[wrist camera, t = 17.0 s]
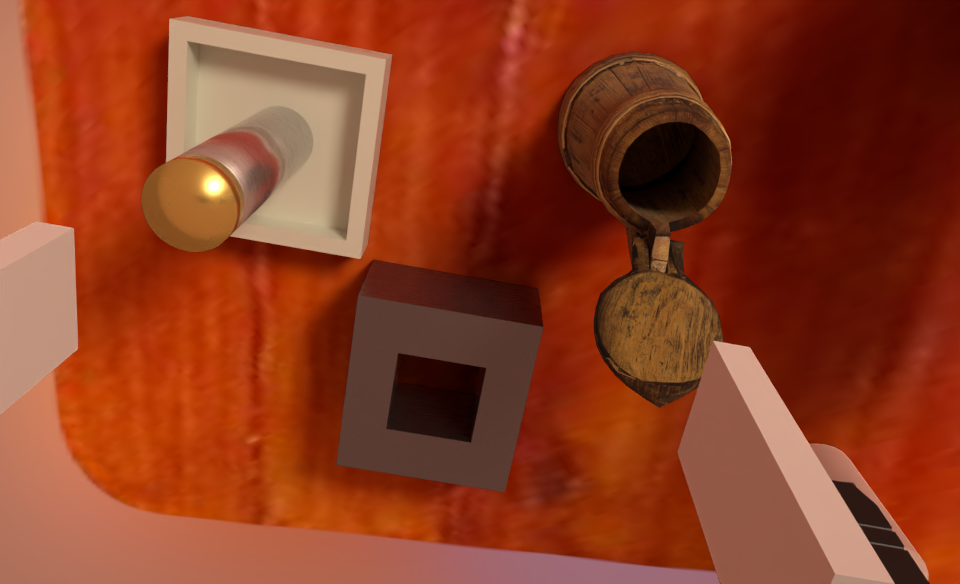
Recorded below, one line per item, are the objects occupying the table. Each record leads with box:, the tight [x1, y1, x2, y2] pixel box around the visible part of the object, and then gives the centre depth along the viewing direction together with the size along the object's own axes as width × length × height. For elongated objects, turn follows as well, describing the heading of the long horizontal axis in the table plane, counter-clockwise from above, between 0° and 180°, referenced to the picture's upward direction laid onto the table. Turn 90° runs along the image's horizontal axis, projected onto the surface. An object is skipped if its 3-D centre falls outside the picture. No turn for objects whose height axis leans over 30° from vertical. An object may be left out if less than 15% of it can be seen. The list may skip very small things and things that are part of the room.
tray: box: [166, 16, 392, 259], centre depth 46 cm, size 12×12×3 cm
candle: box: [809, 443, 928, 580], centre depth 49 cm, size 6×6×15 cm
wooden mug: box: [557, 52, 732, 407], centre depth 40 cm, size 9×14×18 cm, turn 174°
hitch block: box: [336, 260, 543, 492], centre depth 50 cm, size 12×11×6 cm
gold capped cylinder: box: [141, 106, 313, 252], centre depth 40 cm, size 4×4×15 cm
